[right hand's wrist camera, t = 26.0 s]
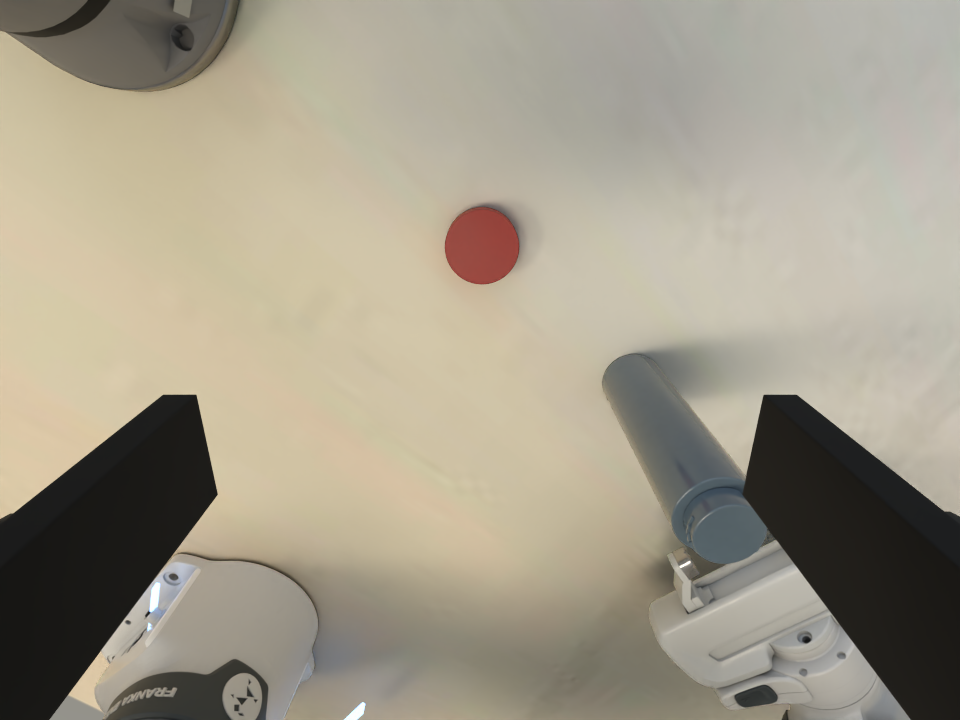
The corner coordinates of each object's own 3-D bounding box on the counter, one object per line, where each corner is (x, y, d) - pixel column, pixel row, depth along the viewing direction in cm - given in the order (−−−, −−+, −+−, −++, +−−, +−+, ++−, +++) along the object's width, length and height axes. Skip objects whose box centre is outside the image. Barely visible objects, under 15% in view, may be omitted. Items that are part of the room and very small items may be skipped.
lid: (527, 264, 41) (529, 269, 39) (462, 288, 42) (461, 294, 40) (503, 195, 39) (504, 198, 37) (435, 222, 40) (433, 226, 38)
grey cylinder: (590, 391, 45) (662, 550, 27) (623, 343, 43) (721, 480, 26) (638, 416, 46) (737, 586, 28) (672, 370, 44) (799, 520, 27)
